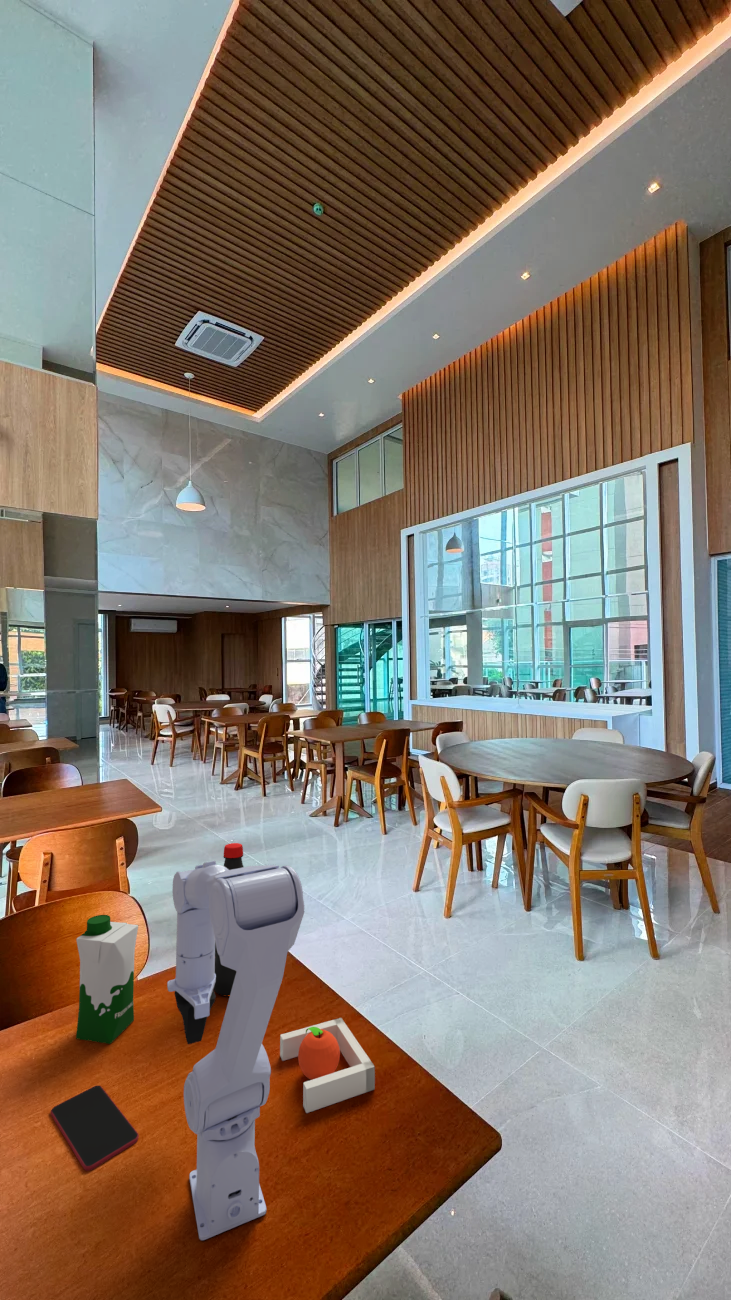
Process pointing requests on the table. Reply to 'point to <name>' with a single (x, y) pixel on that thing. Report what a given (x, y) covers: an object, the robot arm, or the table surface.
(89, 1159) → the smartphone
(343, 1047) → the holder
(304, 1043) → the clementine
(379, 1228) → the table surface
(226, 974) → the cola bottle
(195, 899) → the robot arm
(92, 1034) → the milk carton
